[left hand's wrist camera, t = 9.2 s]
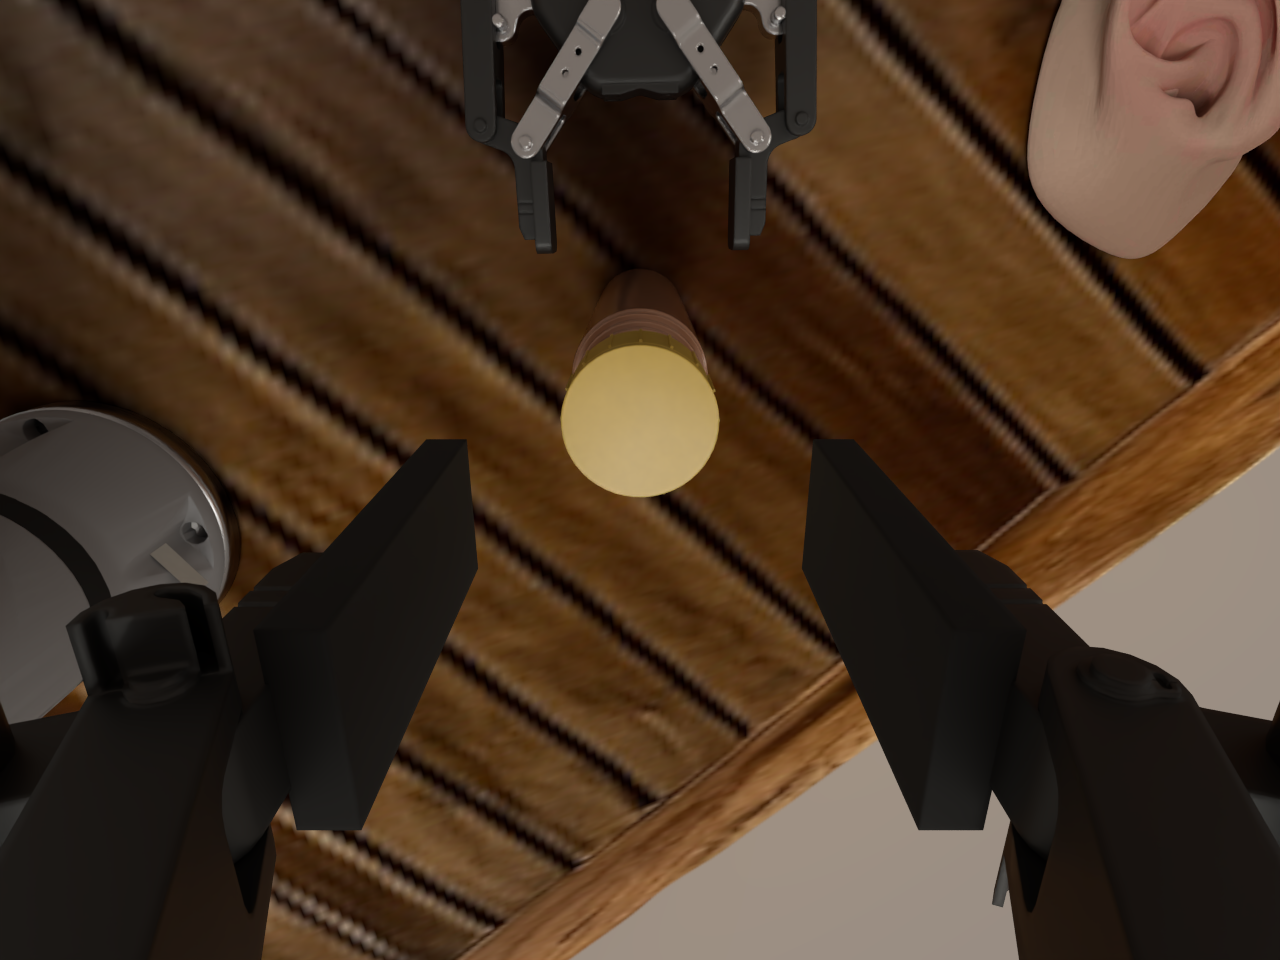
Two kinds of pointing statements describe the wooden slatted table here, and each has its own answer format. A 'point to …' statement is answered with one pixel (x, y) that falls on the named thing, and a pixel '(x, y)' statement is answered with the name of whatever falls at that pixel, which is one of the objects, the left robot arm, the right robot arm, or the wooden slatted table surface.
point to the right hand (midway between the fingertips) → (643, 250)
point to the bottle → (640, 312)
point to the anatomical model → (1149, 112)
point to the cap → (640, 414)
